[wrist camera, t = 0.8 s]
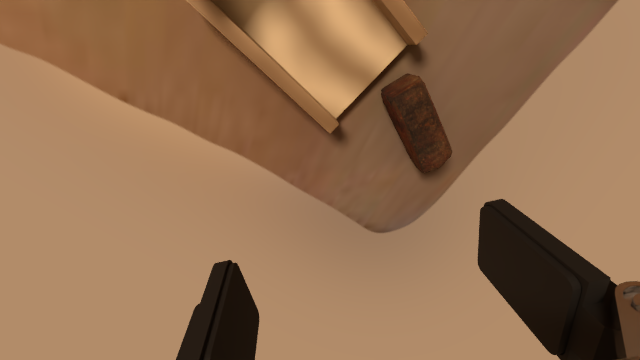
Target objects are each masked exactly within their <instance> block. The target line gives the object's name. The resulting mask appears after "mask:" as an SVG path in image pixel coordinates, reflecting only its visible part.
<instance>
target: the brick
mask: <svg viewBox="0 0 640 360" xmlns="http://www.w3.org/2000/svg"><path fill="white" fill-rule="evenodd" d="M381 91H382V93H381V96H382V99H383V102H384V104H385V106H386V108H387V111H388V113H389V116H390V118H391V120H392V122H393V124H394V126H395V128H396V130H397V132H398V134H399V136H400V138H401V140H402V142H403V144H404V146H405V148H406V150H407V152H408V154H409V156H410V158H411V160H412V161H413V162H414V164H415V165H416V167H417V168H418V169H419V170H420V171H421V172H423V173H424V172H429V171H430V170H435V169H438V168H439V167H441V166H442V165H443V164H444V163H445V161H446V160H447V159H448V158H450V157H451V154H452V150H451V147H450V144H449V141H448V139H447V136H446V134H445V131H444V129H443V126H442V124H441V122H440V119H439V117H438V114H437V112H436V109H435V107H434V105H433V102H432V100H431V97H430V95H429V93H428V90H427V88H426V85H425V83H424V82H423V81H422V79H421V78H420V77H419V76H415V75H411V74H405V75H404V76H402V77H400V78H399V79H397V80H396V81H394V82H392V83H391V84H389V85H387V86H386V87H384V88H383V89H382V90H381Z"/></svg>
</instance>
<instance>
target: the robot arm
mask: <svg viewBox="0 0 640 360" xmlns="http://www.w3.org/2000/svg"><path fill="white" fill-rule="evenodd" d="M479 226H480V227H479V246H478V265H479V268H480V270H481V271H482V272H483V274H484V275H485V276H486V277H487V278H488V280H489V281H490V282H491V283H492V284H493V286H494V287H495V288H496V289H497V290H498V292H499V293H500V294H501V295H502V296H503V298H504V299H505V300H506V301H507V302H508V304H509V305H510V306H511V307H512V308H513V309H514V311H515V312H516V313H517V314H518V316H519V317H520V318H521V319H522V320H523V321H524V323H525V324H526V325H527V326H528V328H529V329H530V330H531V331H532V332H533V334H534V335H535V336H536V337H537V338H538V340H539V341H540V342H541V343H542V345H543V346H544V347H545V348H546V349H547V350H548V351H549V352H550V353H551V354H553V355H557V356H558V357H559V358H560V360H640V282H637V281H633V282H624V283H621V284H619V285H618V286H617V285H616V284H615V283H613V282H612V281H611V280H610V277H609V276H607V275H606V274H604V273H603V272H602V271H600V270H599V269H598V268H596V267H595V266H594V265H592V264H591V263H590V262H588V261H587V260H585V259H584V258H583V257H581V256H580V255H579V254H577V253H576V252H575V251H573V250H572V249H571V248H569V247H568V246H566V245H565V244H564V243H562V242H561V241H560V240H558V239H557V238H556V237H554V236H553V235H552V234H550V233H549V232H547V231H546V230H545V229H543V228H542V227H541V226H539V225H538V224H537V223H535V222H534V221H532V220H531V219H530V218H528V217H527V216H526V215H524V214H523V213H522V212H520V211H519V210H518V209H516V208H515V207H514V206H512V205H511V204H510V203H508V202H507V201H505V200H503V199H499V200H495V201H490V202H486V203H485V204H484V207H482V208H481V210H480V225H479ZM258 327H259V313H258V309H257V307H256V305H255V302H254V300H253V298H252V296H251V293H250V291H249V289H248V287H247V284H246V283H245V280H244V277H243V275H242V273H241V271H240V268H239V266H238V264H237V263H232V261H231V260H228V261H223V262H219V263H215V264H214V266H213V268H212V271H211V274H210V277H209V280H208V282H207V285H206V288H205V291H204V294H203V297H202V300H201V302H200V304H198V305H197V306H196V307H195V309H194V311H193V314H192V317H191V320H190V322H189V325H188V328H187V331H186V333H185V336H184V339H183V342H182V344H181V347H180V350H179V353H178V356H177V358H176V360H255V353H256V343H257V335H258Z"/></svg>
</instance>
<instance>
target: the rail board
mask: <svg viewBox="0 0 640 360" xmlns="http://www.w3.org/2000/svg"><path fill="white" fill-rule="evenodd" d="M186 1H187V2H188V3H189V4H191V5H192V6H193V7H194V8H195V9H196V10H197V11H198V12H199V13H200V14H201V15H202V16H203V17H205V18H206V19H207V20H208V21H209V22H210V23H211V24H212V25H213V26H214V27H215V28H216V29H217V30H219V31H220V32H221V33H222V34H223V35H224V36H225V37H226V38H227V39H228V40H229V41H230V42H232V43H233V44H234V45H235V46H236V47H237V48H238V49H239V50H240V51H241V52H242V53H243V54H244V55H246V56H247V57H248V58H249V59H250V60H251V61H252V62H253V63H254V64H255V65H256V66H257V67H258V68H260V69H261V70H262V71H263V72H264V73H265V74H266V75H267V76H268V77H269V78H270V79H271V80H272V81H274V82H275V83H276V84H277V85H278V86H279V87H280V88H281V89H282V90H283V91H284V92H285V93H287V94H288V95H289V96H290V97H291V98H292V99H293V100H294V101H295V102H296V103H297V104H298V105H299V106H301V107H302V108H303V109H304V110H305V111H306V112H307V113H308V114H309V115H310V116H311V117H312V118H313V119H315V120H316V121H317V122H318V123H319V124H320V125H321V126H322V127H323V128H324V129H325V130H326V131H327V132H329V133H331V132H332V131H333V130H334V129H335V128H336V127H337V126H338V125H339V123H338V121H337V120H336V118H337V117H338V116H339V115H340V114H341V113H342V112H343V111H344V110H345V109H346V108H347V107H348V106H349V105H350V104H351V103H352V102H353V101H354V100H355V99H356V98H357V97H358V95H359V94H360V93H361V92H362V91H363V90H364V89H365V88H366V87H367V86H368V85H369V84H370V83H371V82H372V81H373V80H374V79H375V78H376V77H377V76H378V75H379V74H380V73H381V72H382V71H383V70H384V69H385V68H386V66H387V65H388V64H389V63H390V62H391V61H392V60H393V59H394V58H395V57H396V56H397V55H398V54H399V53H400V52H401V51H402V50H403V49H404V48H405V47H406V46H407V45H417V44H418V43H419V42H420V41H421V40H422V39H423V38H424V37H425V36H426V35H427V34H428V33H427V31H426V30H425V29H424V27H423V26H422V25H421V23H420V22H419V21H418V19H417V18H416V17H415V15H414V14H413V13H412V11H411V10H410V9H409V7H408V6H407V5H406V3H405V2H404V1H403V0H186Z"/></svg>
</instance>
